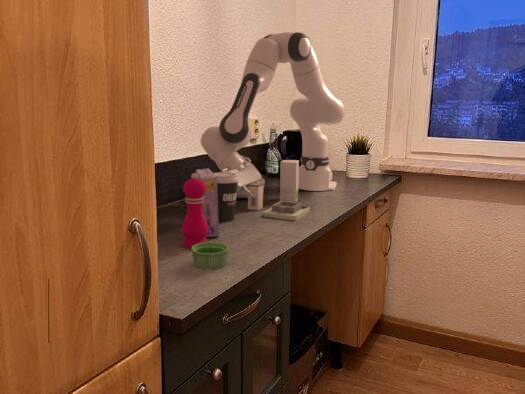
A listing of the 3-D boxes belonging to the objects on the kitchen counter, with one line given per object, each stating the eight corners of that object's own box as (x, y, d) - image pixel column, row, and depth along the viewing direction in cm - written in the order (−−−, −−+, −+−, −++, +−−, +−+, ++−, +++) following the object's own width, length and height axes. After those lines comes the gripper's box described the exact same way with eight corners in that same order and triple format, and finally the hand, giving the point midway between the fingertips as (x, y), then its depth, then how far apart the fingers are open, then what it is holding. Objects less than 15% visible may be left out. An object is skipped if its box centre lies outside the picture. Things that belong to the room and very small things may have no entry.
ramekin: (218, 273, 113) (218, 255, 112) (184, 267, 117) (184, 250, 116) (234, 261, 122) (234, 244, 121) (202, 256, 125) (202, 240, 124)
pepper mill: (182, 241, 136) (181, 170, 132) (208, 241, 137) (208, 171, 133) (180, 249, 129) (179, 175, 125) (208, 249, 130) (207, 175, 126)
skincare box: (295, 203, 185) (297, 162, 181) (278, 202, 186) (279, 162, 182) (298, 198, 193) (299, 159, 189) (282, 197, 194) (283, 159, 191)
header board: (278, 207, 177) (278, 198, 176) (309, 211, 172) (310, 201, 172) (263, 216, 165) (263, 206, 164) (296, 220, 160) (296, 210, 159)
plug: (252, 206, 178) (253, 182, 176) (262, 207, 176) (263, 183, 175) (248, 209, 174) (248, 184, 173) (258, 210, 173) (258, 185, 171)
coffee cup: (216, 224, 154) (216, 177, 151) (205, 217, 163) (205, 172, 159) (243, 220, 159) (244, 175, 155) (231, 214, 167) (232, 171, 164)
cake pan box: (195, 221, 157) (195, 167, 153) (211, 220, 158) (211, 167, 154) (202, 239, 139) (201, 178, 135) (219, 238, 140) (219, 177, 136)
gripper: (224, 164, 165) (250, 195, 164) (250, 157, 184) (273, 185, 182) (213, 176, 168) (238, 206, 166) (239, 168, 186) (262, 195, 185)
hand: (257, 195), depth 174 cm, fingers open, 7 cm apart
